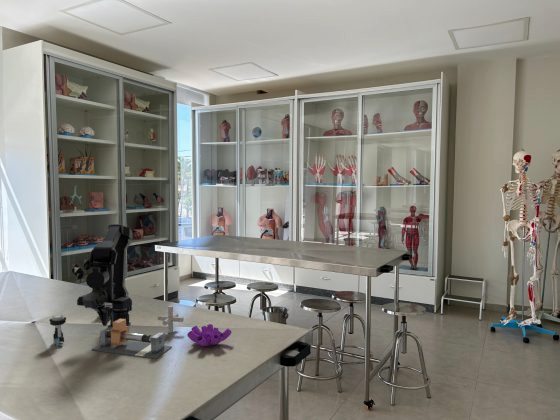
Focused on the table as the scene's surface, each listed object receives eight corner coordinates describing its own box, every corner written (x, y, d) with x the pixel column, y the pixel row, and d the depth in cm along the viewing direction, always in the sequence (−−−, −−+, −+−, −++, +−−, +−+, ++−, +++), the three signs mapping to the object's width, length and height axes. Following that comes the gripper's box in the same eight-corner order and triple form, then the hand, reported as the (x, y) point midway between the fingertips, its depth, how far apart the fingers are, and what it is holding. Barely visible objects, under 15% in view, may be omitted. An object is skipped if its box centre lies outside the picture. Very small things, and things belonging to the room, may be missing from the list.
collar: (111, 344, 146) (110, 322, 145) (120, 339, 151) (120, 318, 150) (118, 345, 145) (118, 323, 144) (127, 340, 150) (127, 318, 149)
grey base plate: (91, 350, 145) (91, 348, 145) (110, 339, 155) (110, 338, 155) (156, 358, 138) (156, 357, 138) (171, 347, 148) (171, 346, 148)
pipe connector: (177, 337, 158) (176, 310, 157) (152, 335, 160) (152, 309, 159) (188, 328, 168) (188, 303, 167) (164, 326, 170) (164, 302, 169)
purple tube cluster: (219, 360, 146) (206, 343, 141) (189, 349, 155) (177, 333, 150) (237, 333, 152) (225, 316, 147) (207, 325, 161) (196, 308, 156)
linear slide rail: (100, 346, 147) (100, 331, 147) (109, 341, 152) (109, 326, 152) (156, 354, 141) (156, 338, 141) (164, 348, 146) (164, 333, 146)
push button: (70, 345, 149) (69, 317, 149) (53, 349, 146) (52, 320, 145) (64, 340, 154) (63, 313, 153) (48, 343, 150) (47, 316, 150)
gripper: (64, 285, 143) (65, 330, 144) (112, 289, 138) (112, 336, 139) (87, 278, 154) (88, 320, 155) (132, 281, 149) (133, 325, 150)
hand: (104, 325), depth 149 cm, fingers closed
